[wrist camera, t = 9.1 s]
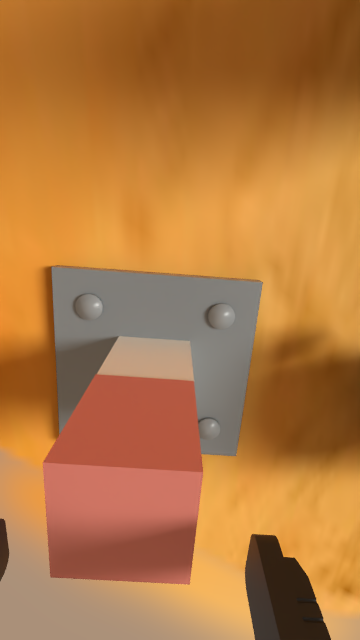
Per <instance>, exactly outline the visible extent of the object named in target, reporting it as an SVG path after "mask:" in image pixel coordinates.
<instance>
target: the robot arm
mask: <svg viewBox="0 0 360 640" xmlns="http://www.w3.org/2000/svg"><path fill="white" fill-rule="evenodd" d="M8 558H9V548H8V541H7V532H6V525H5V521H4V519H0V581H1V579H2V577H3V575H4V572H5V569H6V567H7V563H8ZM245 581H246V590H247V596H248V602H249V607H250V613H251V618H252V624H253V629H254V635H255V640H331V638H330V635H329V633H328V630H327V627H326V625H325V623H324V621H323V616H322V613H321V611H320V608H319V605H318V604H317V602H316V597H315V594H314V592H313V589H312V586H311V583H310V581H309V578H308V576H307V575H306V573H305V572H304V570H303V569H302V568H301V566H300V565H299V563H298V562H297V560H296V559H295V558H289V557H283V554H282V551H281V548H280V545H279V542H278V539H277V537H276V536H274V535H257V534H252V535H251V539H250V545H249V550H248V556H247V561H246V567H245Z"/></svg>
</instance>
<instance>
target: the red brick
mask: <svg viewBox="0 0 360 640" xmlns="http://www.w3.org/2000/svg"><path fill="white" fill-rule="evenodd" d="M43 472H44V487H45V502H46V517H47V532H48V546H49V561H50V576H51V577H55V578H73V579H93V580H113V581H132V582H151V583H171V584H190V576H191V568H192V559H193V551H194V543H195V535H196V527H197V518H198V510H199V502H200V493H201V485H202V477H203V467H202V457H201V447H200V437H199V427H198V417H197V407H196V397H195V387H194V381H187V380H172V379H157V378H142V377H128V376H113V375H98V374H96V375H95V376H94V378H93V380H92V381H91V383H90V385H89V386H88V388H87V390H86V391H85V393H84V395H83V396H82V398H81V400H80V401H79V403H78V405H77V406H76V408H75V410H74V411H73V413H72V415H71V416H70V418H69V420H68V421H67V423H66V425H65V427H64V428H63V430H62V432H61V433H60V435H59V437H58V438H57V440H56V442H55V443H54V445H53V447H52V448H51V450H50V452H49V453H48V455H47V457H46V458H45V460H44V462H43Z"/></svg>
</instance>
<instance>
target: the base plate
mask: <svg viewBox="0 0 360 640" xmlns="http://www.w3.org/2000/svg"><path fill="white" fill-rule="evenodd" d="M262 284H263V282H261V281H259V280H249V279H236V278H222V277H209V276H195V275H182V274H168V273H155V272H141V271H128V270H114V269H101V268H87V267H74V266H60V265H57V266H53V267H52V288H53V309H54V330H55V351H56V372H57V393H58V414H59V435H60V433H61V432H62V430H63V428H64V427H65V425H66V423H67V421H68V420H69V418H70V416H71V415H72V413H73V411H74V410H75V408H76V406H77V405H78V403H79V401H80V400H81V398H82V396H83V395H84V393H85V391H86V390H87V388H88V386H89V385H90V383H91V381H92V380H93V378H94V376H95V375H96V374H97V373H98V371H99V369H100V368H101V366H102V364H103V363H104V361H105V359H106V358H107V356H108V354H109V352H110V351H111V349H112V347H113V346H114V344H115V342H116V341H117V339H118V337H119V336H124V337H139V338H154V339H168V340H183V341H190V346H191V356H192V366H193V376H194V387H195V397H196V407H197V417H198V427H199V437H200V447H201V454H210V455H227V456H236V453H237V446H238V440H239V433H240V427H241V420H242V414H243V407H244V401H245V394H246V388H247V381H248V375H249V368H250V362H251V355H252V349H253V342H254V336H255V329H256V323H257V316H258V310H259V303H260V297H261V290H262Z"/></svg>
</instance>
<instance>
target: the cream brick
mask: <svg viewBox="0 0 360 640" xmlns="http://www.w3.org/2000/svg"><path fill="white" fill-rule="evenodd" d="M97 374H98V375H113V376H128V377H142V378H157V379H172V380H187V381H194V376H193V366H192V356H191V346H190V341H183V340H168V339H154V338H139V337H124V336H119V337H118V339H117V341H116V342H115V344H114V346H113V347H112V349H111V351H110V352H109V354H108V356H107V358H106V359H105V361H104V363H103V364H102V366H101V368H100V369H99V371H98V373H97Z"/></svg>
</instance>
